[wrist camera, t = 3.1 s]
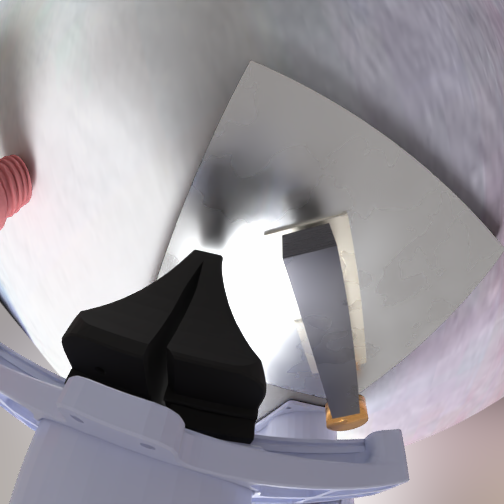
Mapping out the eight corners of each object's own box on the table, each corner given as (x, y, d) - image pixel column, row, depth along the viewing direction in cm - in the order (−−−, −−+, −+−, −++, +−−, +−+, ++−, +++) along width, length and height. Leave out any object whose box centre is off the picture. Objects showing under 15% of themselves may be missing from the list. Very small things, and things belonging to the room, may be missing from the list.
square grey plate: (344, 391, 22) (347, 414, 20) (145, 323, 19) (133, 349, 17) (495, 239, 13) (515, 260, 11) (252, 63, 10) (247, 55, 8)
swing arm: (365, 407, 19) (368, 425, 18) (327, 414, 20) (328, 433, 18) (343, 219, 11) (353, 241, 9) (267, 238, 12) (265, 263, 10)
